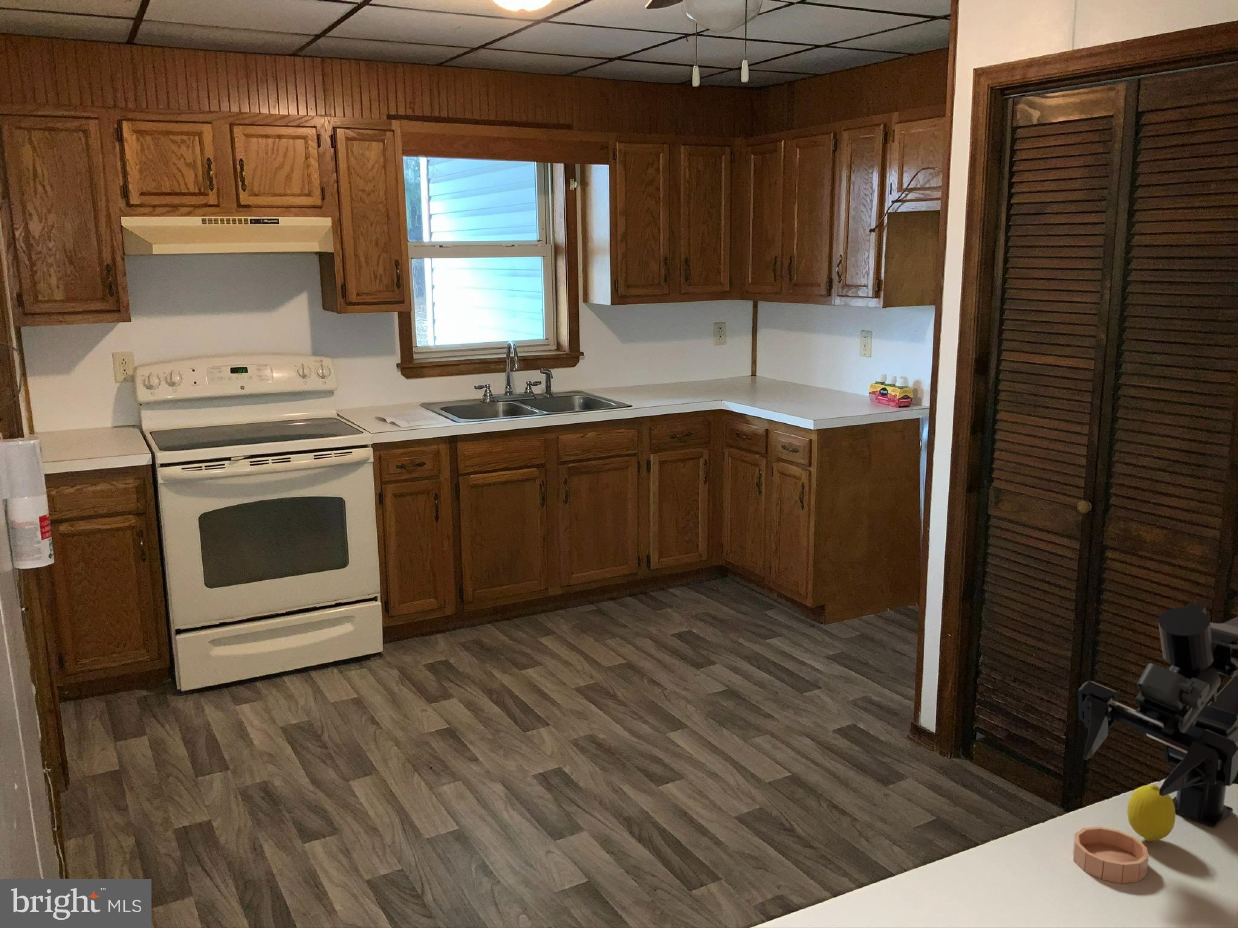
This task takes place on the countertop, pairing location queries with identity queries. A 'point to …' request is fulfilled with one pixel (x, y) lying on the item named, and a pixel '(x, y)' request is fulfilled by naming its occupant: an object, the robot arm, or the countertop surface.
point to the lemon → (1151, 813)
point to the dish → (1110, 854)
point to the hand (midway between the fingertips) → (1121, 774)
